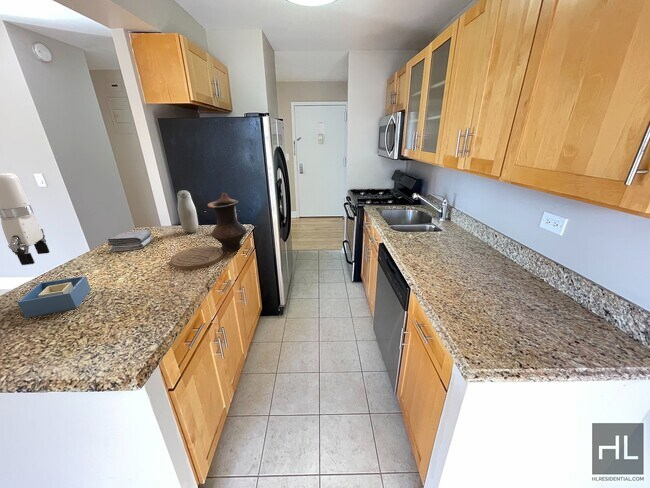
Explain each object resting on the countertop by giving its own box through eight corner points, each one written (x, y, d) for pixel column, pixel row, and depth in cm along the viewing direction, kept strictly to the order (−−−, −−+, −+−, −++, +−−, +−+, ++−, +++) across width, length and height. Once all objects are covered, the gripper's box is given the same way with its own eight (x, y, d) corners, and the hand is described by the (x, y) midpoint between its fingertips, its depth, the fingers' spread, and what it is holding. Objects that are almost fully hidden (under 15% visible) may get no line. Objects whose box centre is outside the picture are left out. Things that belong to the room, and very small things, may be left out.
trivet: (193, 247, 149) (192, 244, 149) (232, 250, 145) (232, 247, 144) (159, 267, 127) (158, 263, 126) (204, 271, 122) (203, 268, 121)
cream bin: (44, 308, 95) (37, 295, 93) (53, 298, 101) (47, 286, 99) (68, 304, 98) (62, 291, 95) (76, 294, 104) (71, 282, 101)
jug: (249, 252, 142) (242, 198, 131) (213, 256, 137) (202, 201, 126) (248, 239, 161) (242, 191, 150) (216, 242, 156) (207, 193, 145)
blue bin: (25, 318, 91) (16, 302, 88) (46, 297, 103) (39, 282, 101) (76, 308, 96) (69, 293, 94) (91, 289, 108) (85, 275, 106)
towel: (144, 249, 147) (141, 236, 144) (107, 252, 143) (102, 239, 140) (154, 239, 161) (150, 228, 158) (120, 242, 157) (116, 230, 154)
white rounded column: (180, 232, 173) (170, 190, 163) (194, 228, 181) (186, 188, 170) (188, 235, 168) (178, 192, 157) (202, 231, 176) (194, 189, 165)
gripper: (17, 207, 92) (36, 251, 99) (-20, 220, 77) (6, 271, 84) (44, 205, 95) (61, 248, 101) (14, 217, 80) (36, 267, 87)
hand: (36, 258), depth 93 cm, fingers open, 9 cm apart
